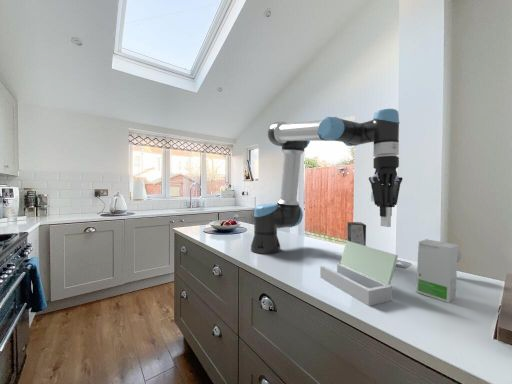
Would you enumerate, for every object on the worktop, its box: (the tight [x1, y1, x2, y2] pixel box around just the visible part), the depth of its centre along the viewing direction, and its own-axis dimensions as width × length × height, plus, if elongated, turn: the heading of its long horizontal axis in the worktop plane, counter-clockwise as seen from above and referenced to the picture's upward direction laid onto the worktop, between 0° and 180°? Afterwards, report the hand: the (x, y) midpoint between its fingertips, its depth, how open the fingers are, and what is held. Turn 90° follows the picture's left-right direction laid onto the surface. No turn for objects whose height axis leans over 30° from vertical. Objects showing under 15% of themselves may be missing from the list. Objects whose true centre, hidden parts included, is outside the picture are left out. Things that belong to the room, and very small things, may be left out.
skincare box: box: [415, 238, 459, 304], centre depth 69 cm, size 8×7×16 cm
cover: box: [339, 240, 399, 286], centre depth 76 cm, size 20×9×1 cm
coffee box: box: [346, 221, 367, 246], centre depth 104 cm, size 9×6×16 cm
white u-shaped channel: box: [319, 263, 393, 306], centre depth 74 cm, size 21×8×4 cm, turn 20°
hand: (385, 226), depth 79 cm, fingers closed
